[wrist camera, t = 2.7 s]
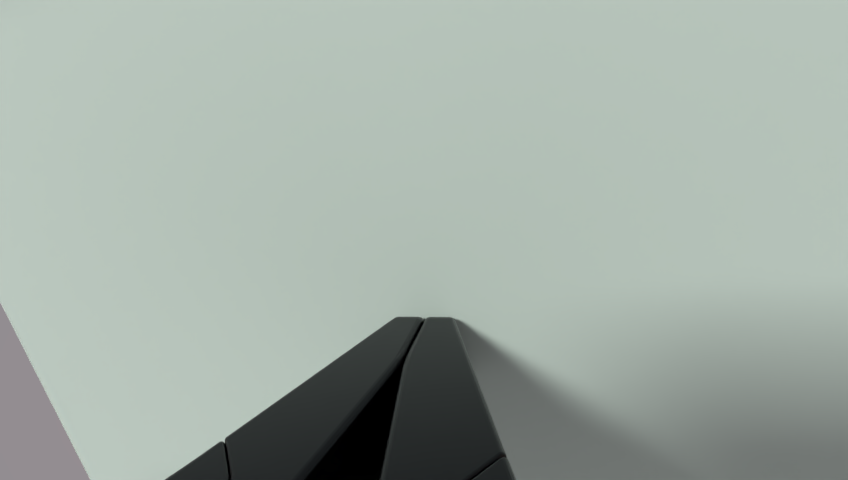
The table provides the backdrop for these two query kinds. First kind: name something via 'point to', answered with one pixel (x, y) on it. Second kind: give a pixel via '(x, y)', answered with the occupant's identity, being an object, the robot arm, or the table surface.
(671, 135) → the lid
